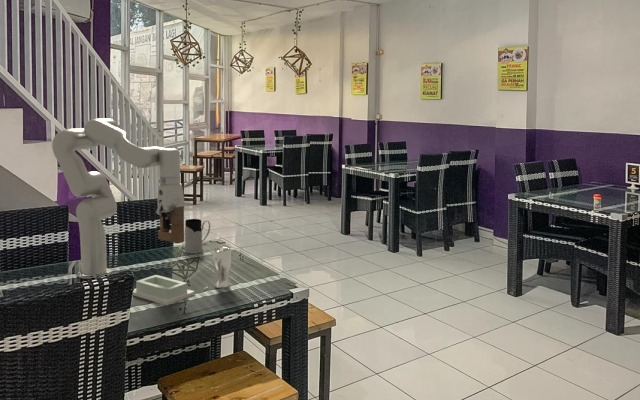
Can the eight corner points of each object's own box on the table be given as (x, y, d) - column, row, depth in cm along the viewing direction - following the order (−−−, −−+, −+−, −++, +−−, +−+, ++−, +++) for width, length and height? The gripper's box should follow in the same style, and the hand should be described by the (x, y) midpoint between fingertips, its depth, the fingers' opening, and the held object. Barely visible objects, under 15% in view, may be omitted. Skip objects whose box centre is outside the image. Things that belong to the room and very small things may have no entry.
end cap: (128, 293, 204) (128, 281, 203) (157, 283, 215) (157, 272, 215) (166, 305, 194) (166, 292, 193) (194, 294, 205) (194, 282, 205)
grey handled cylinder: (180, 250, 263) (180, 220, 260) (204, 245, 274) (204, 216, 271) (191, 254, 257) (191, 223, 255) (215, 248, 268) (215, 219, 265)
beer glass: (223, 281, 220) (222, 245, 217) (234, 285, 216) (234, 249, 213) (209, 286, 215) (209, 249, 212) (221, 290, 210) (220, 252, 208)
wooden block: (177, 243, 208) (177, 197, 205) (157, 239, 213) (156, 194, 210) (184, 241, 211) (184, 196, 208) (164, 237, 216) (164, 192, 213)
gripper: (160, 184, 199) (161, 233, 202) (192, 179, 213) (193, 225, 216) (146, 182, 203) (147, 230, 206) (178, 177, 217) (179, 222, 220)
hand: (170, 227), depth 211 cm, fingers closed on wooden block, 3 cm apart
